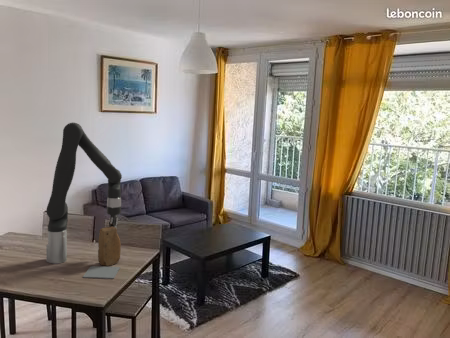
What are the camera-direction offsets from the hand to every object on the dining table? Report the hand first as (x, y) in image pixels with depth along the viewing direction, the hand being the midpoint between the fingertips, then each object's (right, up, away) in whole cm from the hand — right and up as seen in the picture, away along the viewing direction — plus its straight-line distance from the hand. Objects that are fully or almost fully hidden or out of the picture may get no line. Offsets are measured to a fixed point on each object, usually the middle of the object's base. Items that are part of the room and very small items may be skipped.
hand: (113, 235), depth 210 cm
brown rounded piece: (0, -14, -7) cm, 16 cm away
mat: (0, -16, -19) cm, 25 cm away
